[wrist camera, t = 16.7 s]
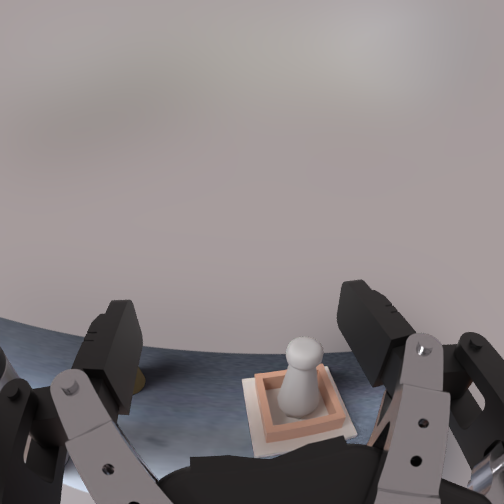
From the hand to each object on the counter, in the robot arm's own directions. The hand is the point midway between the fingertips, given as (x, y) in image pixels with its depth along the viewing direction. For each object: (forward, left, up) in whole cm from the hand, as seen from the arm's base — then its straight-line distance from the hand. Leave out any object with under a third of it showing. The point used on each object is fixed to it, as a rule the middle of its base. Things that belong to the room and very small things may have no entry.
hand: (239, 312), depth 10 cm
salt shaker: (+8, +14, -29) cm, 33 cm away
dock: (+8, +14, -30) cm, 34 cm away
